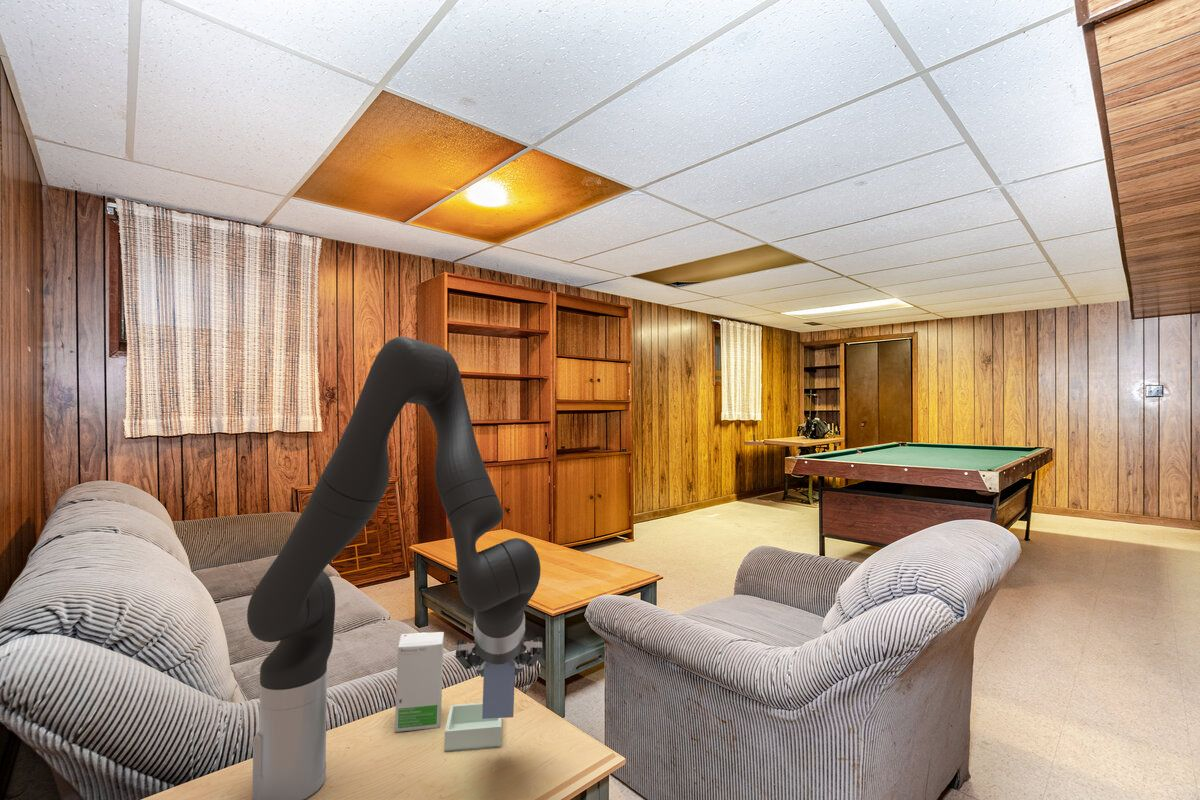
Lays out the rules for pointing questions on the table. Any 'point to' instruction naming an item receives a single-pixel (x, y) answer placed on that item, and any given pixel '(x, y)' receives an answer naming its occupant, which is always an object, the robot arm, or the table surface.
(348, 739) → the table surface
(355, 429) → the robot arm
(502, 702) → the tea box
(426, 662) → the skincare box
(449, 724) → the tray
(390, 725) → the table surface
